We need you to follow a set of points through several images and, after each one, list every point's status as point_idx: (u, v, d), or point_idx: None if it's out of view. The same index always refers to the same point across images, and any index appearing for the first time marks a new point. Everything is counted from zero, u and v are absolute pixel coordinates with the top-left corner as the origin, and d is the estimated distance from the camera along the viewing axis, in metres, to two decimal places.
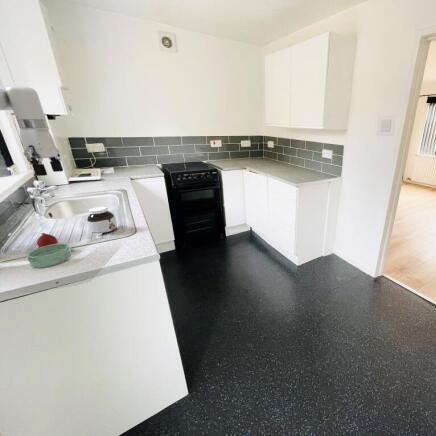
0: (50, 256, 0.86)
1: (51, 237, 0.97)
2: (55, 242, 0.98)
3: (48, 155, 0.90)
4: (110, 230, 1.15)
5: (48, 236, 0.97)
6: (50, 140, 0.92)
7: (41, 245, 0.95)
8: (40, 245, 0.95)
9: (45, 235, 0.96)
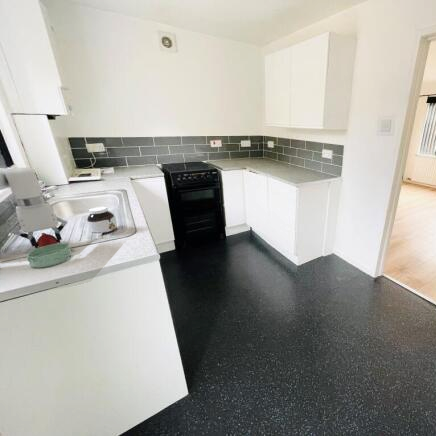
0: (50, 256, 0.86)
1: (51, 237, 0.97)
2: (55, 242, 0.98)
3: (36, 229, 0.93)
4: (110, 230, 1.15)
5: (48, 236, 0.97)
6: (43, 214, 0.93)
7: (41, 245, 0.95)
8: (40, 245, 0.95)
9: (45, 235, 0.96)
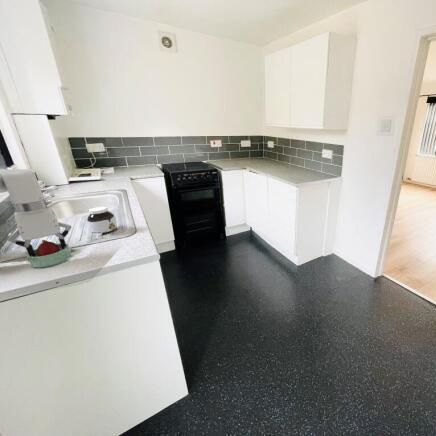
0: (50, 256, 0.86)
1: (52, 245, 0.89)
2: (57, 250, 0.90)
3: (36, 236, 0.85)
4: (110, 230, 1.15)
5: (49, 243, 0.89)
6: (44, 220, 0.85)
7: (41, 253, 0.87)
8: (40, 253, 0.87)
9: (46, 242, 0.88)
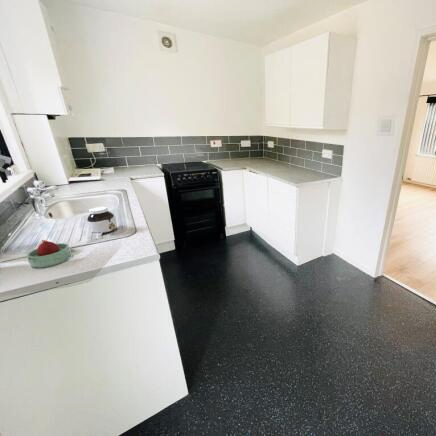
0: (50, 256, 0.86)
1: (52, 245, 0.89)
2: (57, 250, 0.90)
3: None
4: (110, 230, 1.15)
5: (49, 243, 0.89)
6: None
7: (41, 253, 0.87)
8: (40, 253, 0.87)
9: (46, 242, 0.88)
